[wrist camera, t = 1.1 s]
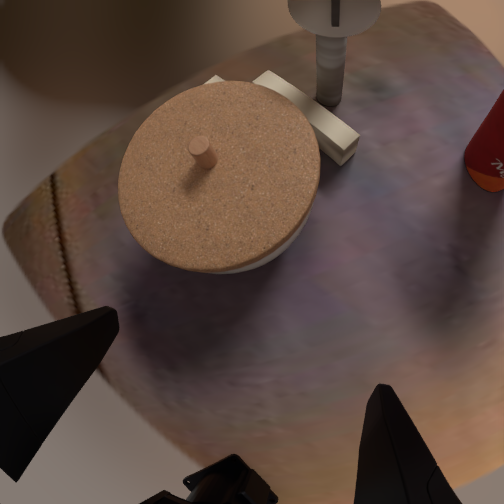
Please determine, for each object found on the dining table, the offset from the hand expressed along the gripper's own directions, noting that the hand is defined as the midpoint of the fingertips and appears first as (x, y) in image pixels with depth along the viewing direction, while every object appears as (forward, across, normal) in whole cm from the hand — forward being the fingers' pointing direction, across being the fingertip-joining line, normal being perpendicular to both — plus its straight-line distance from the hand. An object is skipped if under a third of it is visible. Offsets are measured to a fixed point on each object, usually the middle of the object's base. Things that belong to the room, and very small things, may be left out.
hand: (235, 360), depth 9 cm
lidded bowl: (+18, +5, +1) cm, 18 cm away
